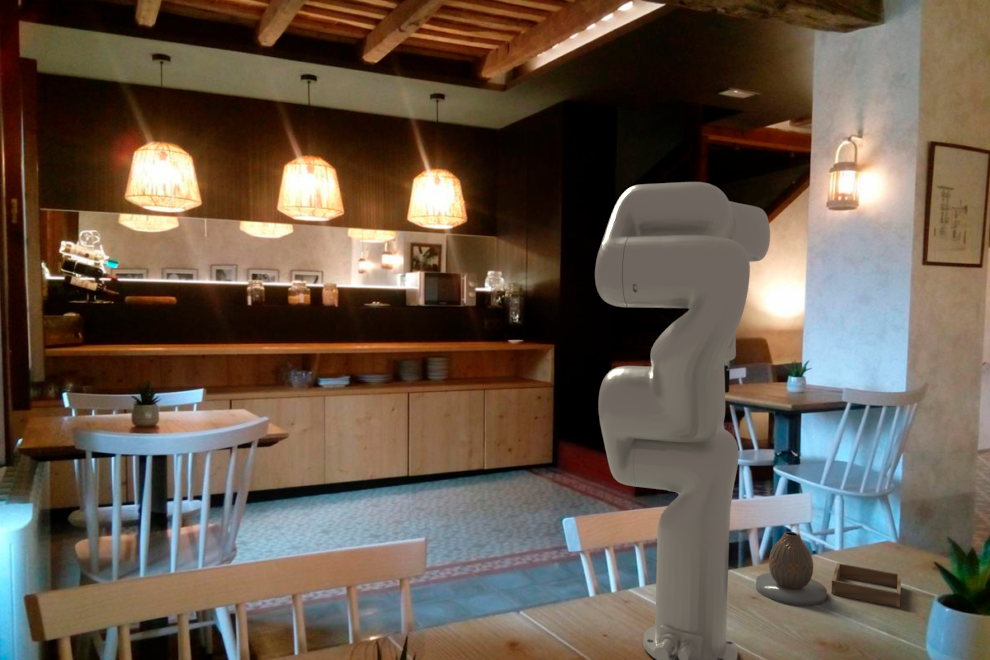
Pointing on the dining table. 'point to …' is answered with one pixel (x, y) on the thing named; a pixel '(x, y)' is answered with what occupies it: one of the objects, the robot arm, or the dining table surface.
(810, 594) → the plate
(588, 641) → the dining table surface
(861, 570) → the holder
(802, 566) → the vase
